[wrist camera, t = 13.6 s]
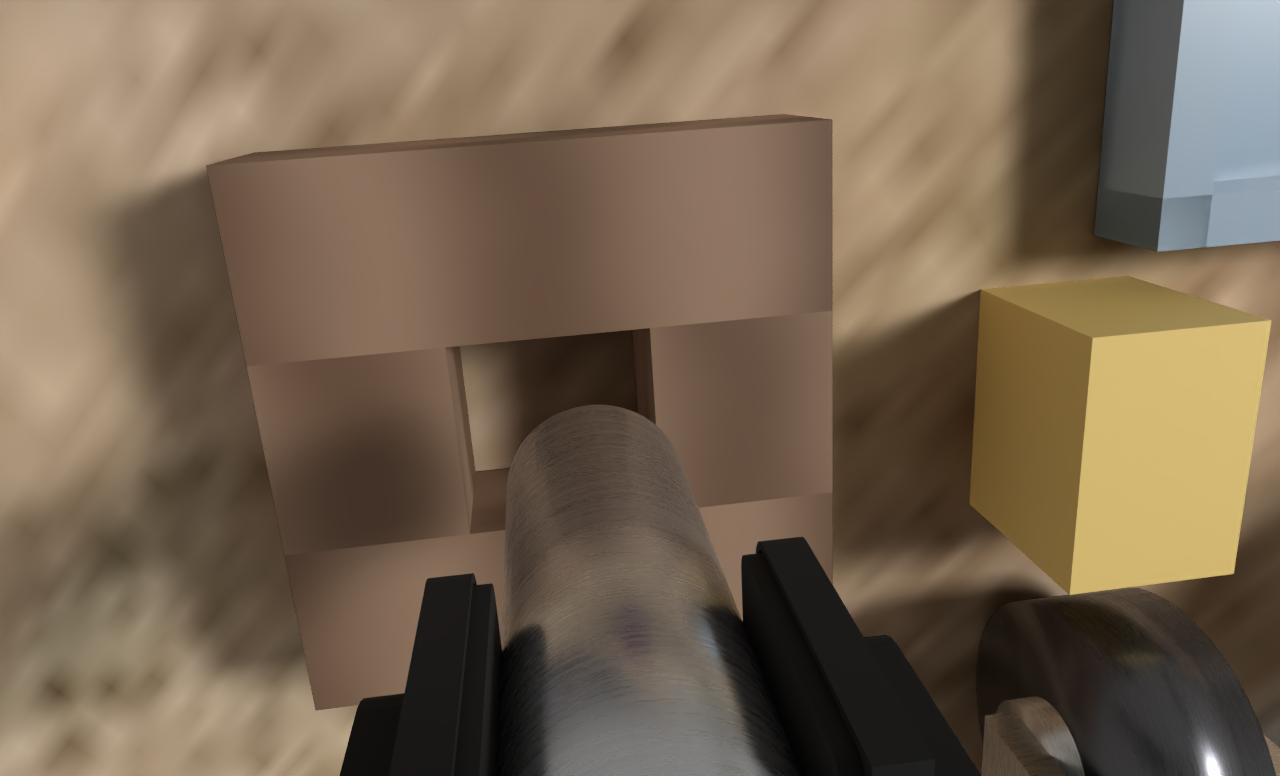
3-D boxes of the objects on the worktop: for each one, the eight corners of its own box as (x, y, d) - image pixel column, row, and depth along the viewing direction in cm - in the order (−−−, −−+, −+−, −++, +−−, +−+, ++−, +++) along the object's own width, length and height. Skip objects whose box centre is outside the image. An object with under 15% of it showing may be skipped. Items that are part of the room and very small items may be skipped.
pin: (695, 377, 16) (1119, 1158, 5) (704, 568, 17) (1057, 1566, 6) (476, 399, 16) (348, 1294, 4) (501, 591, 17) (452, 1697, 5)
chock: (1125, 275, 25) (1271, 319, 20) (1104, 486, 27) (1233, 573, 22) (979, 288, 24) (1092, 337, 20) (968, 503, 26) (1069, 594, 21)
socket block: (784, 114, 22) (832, 119, 19) (791, 571, 26) (832, 641, 23) (254, 152, 21) (206, 165, 18) (341, 626, 25) (315, 710, 21)
